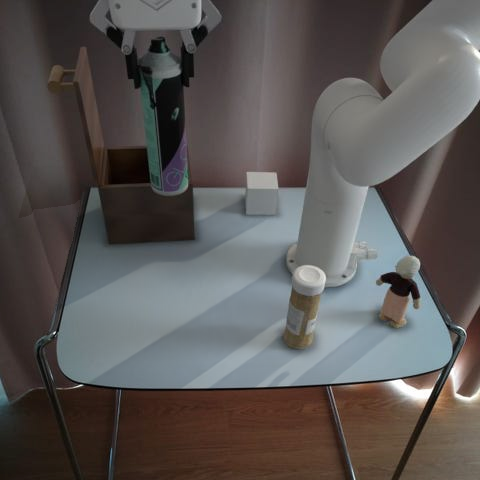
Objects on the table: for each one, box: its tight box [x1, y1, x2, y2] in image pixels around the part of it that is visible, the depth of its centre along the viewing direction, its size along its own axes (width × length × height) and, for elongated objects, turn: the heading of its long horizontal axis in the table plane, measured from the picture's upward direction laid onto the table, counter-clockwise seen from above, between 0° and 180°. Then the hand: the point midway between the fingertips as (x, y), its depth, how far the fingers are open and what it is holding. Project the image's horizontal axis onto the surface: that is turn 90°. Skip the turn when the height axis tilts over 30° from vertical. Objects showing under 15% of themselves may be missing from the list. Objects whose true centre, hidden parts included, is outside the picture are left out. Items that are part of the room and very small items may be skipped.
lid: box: [46, 46, 105, 186], centre depth 80 cm, size 17×14×5 cm
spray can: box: [138, 36, 188, 196], centre depth 66 cm, size 6×6×20 cm
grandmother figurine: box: [375, 255, 421, 329], centre depth 76 cm, size 8×4×13 cm, turn 58°
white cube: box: [244, 171, 280, 216], centre depth 99 cm, size 6×6×6 cm
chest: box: [97, 143, 196, 245], centre depth 92 cm, size 16×14×12 cm
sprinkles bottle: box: [283, 265, 326, 350], centre depth 72 cm, size 5×5×14 cm
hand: (161, 82), depth 63 cm, fingers closed on spray can, 5 cm apart
